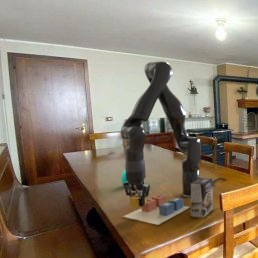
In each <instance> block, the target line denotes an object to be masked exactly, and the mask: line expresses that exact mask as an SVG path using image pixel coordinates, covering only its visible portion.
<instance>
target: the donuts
mask: <svg viewBox="0 0 258 258" xmlns="http://www.w3.org/2000/svg"><path fill="white" fill-rule="evenodd" d="M126 182H128V181H127V180H126V170H125V169H124V170H123V172H122V173H121V184H122V186H123V187H124V185H123V184H124V183H126Z"/></svg>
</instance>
